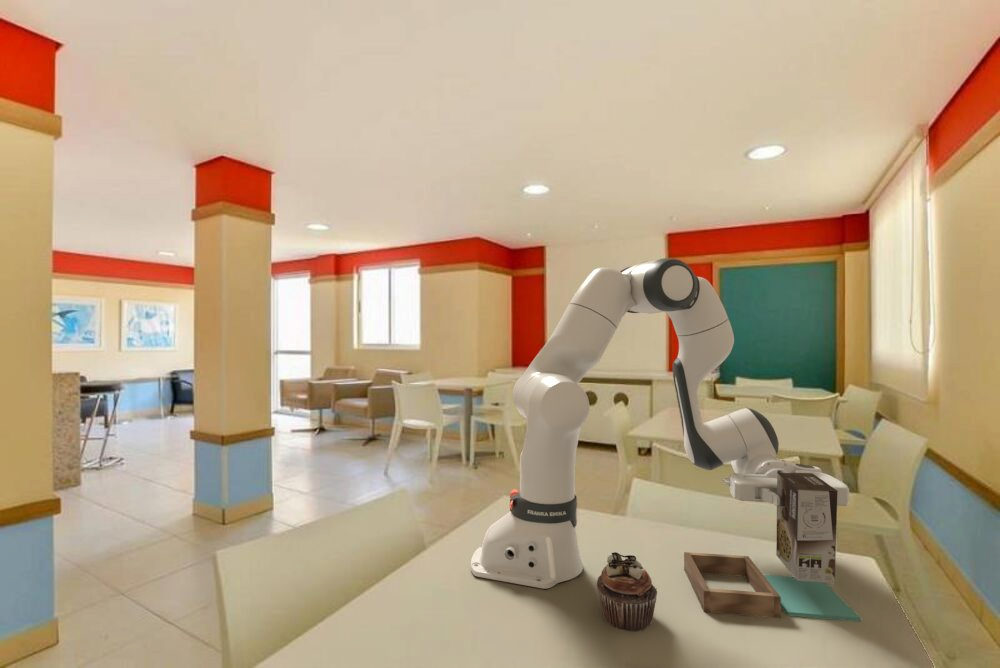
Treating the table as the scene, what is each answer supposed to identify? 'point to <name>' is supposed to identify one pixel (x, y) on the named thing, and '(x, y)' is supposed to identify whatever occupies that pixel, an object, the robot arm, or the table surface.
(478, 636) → the table surface
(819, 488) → the coffee box
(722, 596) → the walnut bin
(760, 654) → the table surface
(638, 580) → the cupcake
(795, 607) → the teal mat
